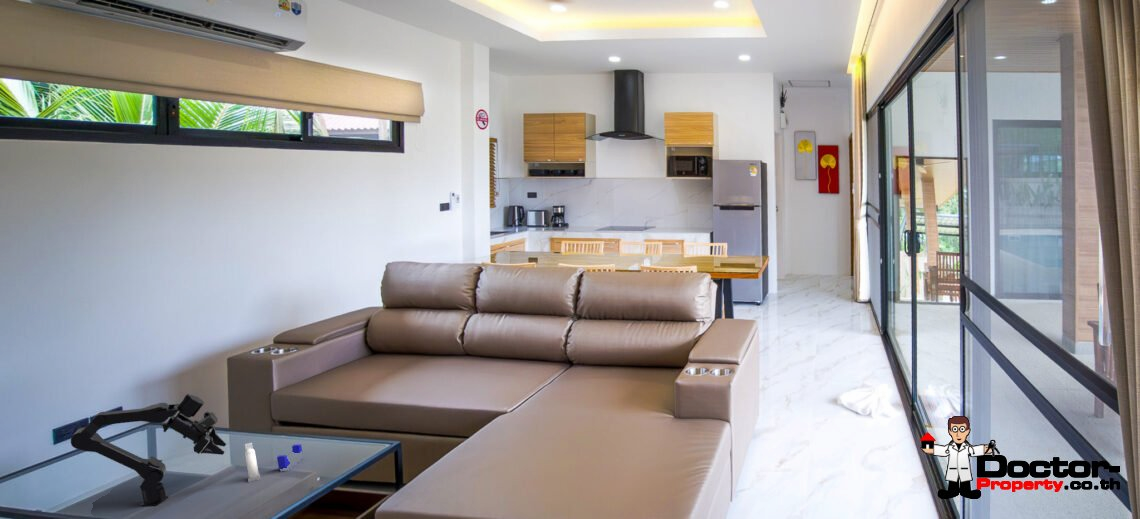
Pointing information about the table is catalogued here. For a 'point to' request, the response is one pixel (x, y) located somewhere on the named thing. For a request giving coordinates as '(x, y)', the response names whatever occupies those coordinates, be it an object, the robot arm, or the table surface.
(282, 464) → the blue blocks
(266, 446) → the table surface
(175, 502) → the table surface
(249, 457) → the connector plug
